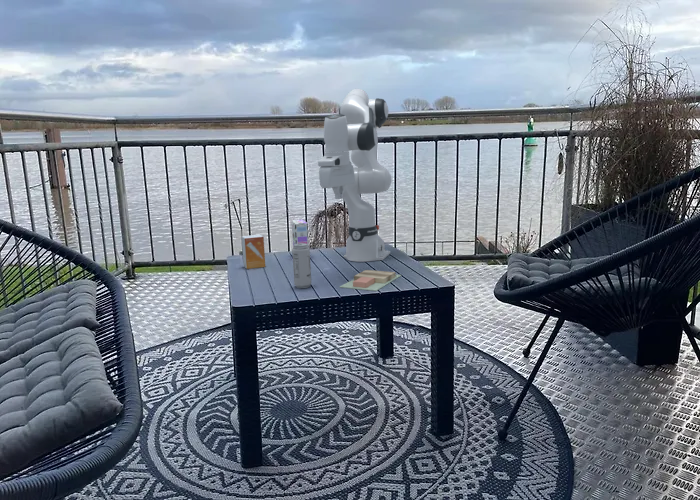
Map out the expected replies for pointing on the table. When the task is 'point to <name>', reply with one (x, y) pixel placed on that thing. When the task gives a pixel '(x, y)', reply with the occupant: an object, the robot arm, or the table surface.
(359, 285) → the tile
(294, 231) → the candy box
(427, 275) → the table surface
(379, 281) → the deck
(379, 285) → the mat
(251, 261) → the small box
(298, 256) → the energy drink can
